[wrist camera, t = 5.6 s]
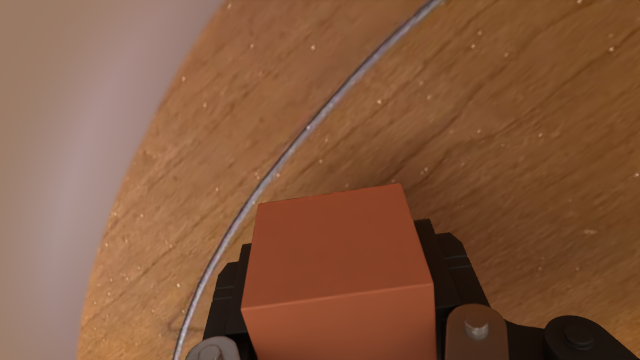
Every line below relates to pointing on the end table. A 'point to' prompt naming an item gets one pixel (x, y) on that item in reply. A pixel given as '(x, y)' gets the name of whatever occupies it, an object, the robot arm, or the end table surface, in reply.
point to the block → (339, 279)
